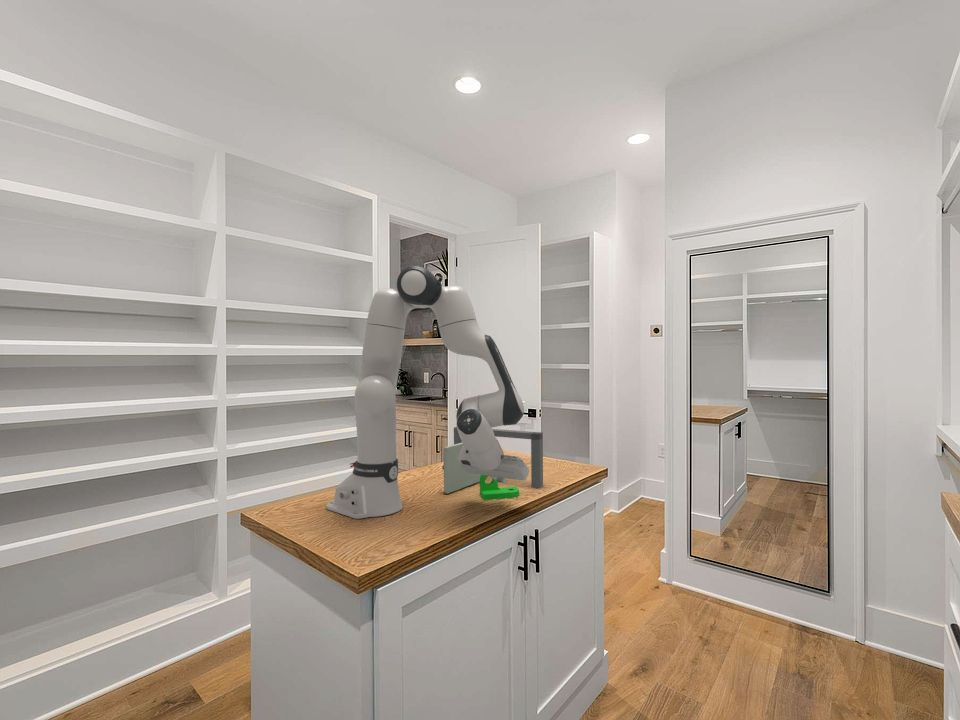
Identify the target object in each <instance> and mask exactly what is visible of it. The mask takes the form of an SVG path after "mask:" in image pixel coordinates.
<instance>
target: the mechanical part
mask: <svg viewBox="0 0 960 720" xmlns="http://www.w3.org/2000/svg"><path fill="white" fill-rule="evenodd" d="M488 477H489V476H486V475H480V482H479V496H480V495H481V496H480V497H481V498H482V499H483V501H494V500H493V499H496V500H506V499H505V498H508V499H515V498H514V497H516V498H519V497H520V489H519V487H517V486H507V487H506V486H505V487H499V482H496V481H495V479H493V478H491V481H490V482H488V483H487V482H486V479H487V478H488ZM518 496H519V497H518Z"/></svg>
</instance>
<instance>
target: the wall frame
mask: <svg viewBox="0 0 960 720" xmlns="http://www.w3.org/2000/svg"><path fill="white" fill-rule="evenodd" d="M492 430H493V432H494V435H495V438H497V437H498V438H507V439H509V438H510V439H521V440H522V439H523V440H530V449H531V450H530V457H531V458H530V463H531V465H530V466H531V467H530V469H531V471H530V473H531V474H530V475H531V476H530V477H531V478H530V481H531V482H530V483H531V488H532V487H533V489H539V488H540V489H542V488H543V487H544V446H543V445H544V439H543V438H544V436H543V432H541V431H529V430H527V431H526V430H513V429H512V430H509V429H500V428H499V429H498V428H492ZM458 443H462V441H461V438H460V436H459V433H458V430H457V426H454V427H453V445H454V444H458ZM542 486H543V487H542Z"/></svg>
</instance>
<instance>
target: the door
mask: <svg viewBox="0 0 960 720" xmlns="http://www.w3.org/2000/svg"><path fill="white" fill-rule="evenodd" d="M462 447H463V443H458V444H454V443H453V444H451V445H448V446H447V445H446V446H443V448H442V449H443V452H442V454H443V460H442V461H443V465H442V470H443V494H447V495H448V494H450V493H452V492H453V493H454V492H456V491H458V490H461V489H463V488H466V487H469V486H471V485H473V484H477V483H480V475H479V474H472V473H467V472H465V471H464V470H463V469H462V467H461V465H460V463H459V462H458V457H459V454H460V451H461V449H462Z"/></svg>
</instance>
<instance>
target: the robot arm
mask: <svg viewBox="0 0 960 720" xmlns="http://www.w3.org/2000/svg"><path fill="white" fill-rule="evenodd" d="M429 309H431V310H432V311H433V312H434V315H435V318H436V320H437V321H436V322H437V326H438V331H439V335H440V337H441V338H440V339H441V341H442V343H443V345H444V346H445V348H446V349H447V350H449V351H450V352H452V353H453V354H457V355H459V356H460V355H461V356H468V357H474V358H478V359H481V360H483V361H484V362H486V363H487V365H488V366H489V368H490V371H491V374H492V376H493V379H494V380H495V383H496V385H497V387H498V390H497V391H494V392H489V393H485V394H481V395H480V394H479V395H476V396H475V395H474V396H471V397H467V398H464V399H463V400H462V401H461V402H460V404H459V405H458V408H457V410H456V417H455V418H456V427H457V430H458V433H459V436H460V438H461V441H462V443H463V447H462V449H461V451H460V454H459V457H458V462H459V463H460V465H461V467H462V469H463V470H464V471H465V472H467V473H472V474H479V475H486V476H488V477H489V478H491V479H492V478H493V479H495V481H496V482H498V483H502V484H506V482H507V479H509V480H515V481H516V480H517V481H523V482H525V481H526V480H527V479H528V476H529V472H530V469H529V467H528V465H527V464H526V462H525V461H524V460H523V459H522V457H519V456H517V455H516V456H515V455H507V454H504V450H503V448H502V446H501V444H500V441H499V440H498V439H497V437H495V435H494V432H493V430H492V429H494V428H496V427H501V426H513V425H514V426H515V425H517V424H518V423H519V422H520V421H521V419H522V418H523V416H524V414H525V406H524V402H523V399H522V398H521V395H520V394H519V393H518V391H517V388H516V386H515V384H514V382H513V380H512V378H511V376H510V373H509V371H508V369H507V366H506V364H505V361H504V358H503V357H502V354H501V352H500V350H499V347H498V346H497V343H496V342H495V340H494V339H493V338H492V336H491V335H488V334H485V333H484V332H483V331H482V330H481V328H480V326H479V324H478V321H477V316H476V312H475V311H474V306H473V304H472V302H471V299H470V297H469V295H468V292H467V290H466V289H465V288H463V287H462V286H459V285H448V286H443V285H442V283H441V281H440V280H439V279H438V278H437V277H436V276H435V274H433V273H432V272H431V271H430V270H429V269H427V268H426V267H423V266H421V265H411V266H407V267H406V268H404V269H403V270H402V271H401V272H400V273H399V275H398V276H397V279H396V287H395V288H389V287H386V288H381V289H379V290H377V291H376V292H375V293H374V295H373V297H372V300H371V303H370V306H369V309H368V315H367V318H366V319H367V320H366V325H365V331H364V332H365V333H364V337H363V345H362V351H361V352H362V353H361V365H360V373H359V382H358V384H357V386H356V387H355V390H354V391H355V392H354V408H355V409H354V410H355V411H354V412H355V424H356V425H355V427H356V447H357V448H356V450H357V453H356V454H357V455H356V456H357V460H356V461H354V462H351V463H349V465H350V466H349V468H353V470H352V473H351V474H350V475H348V477H346V478H345V479H344V480H342V482H340V483H338V485H337V486H336V488H335V491H334V499H332V500H330V501H329V502H328V503H327V504H326V506H325V509H326V510H329V511H331V512H334V513H337V514H340V515H343V516H347V517H349V518H352V519H355V520H358V519H365V518H375V517H383V516H387V515H388V516H389V515H392V514H396V513H398V512H400V511H401V510H402V509H403V507H404V506H403V502H402V499H401V495H400V489H399V482H398V476H399V475H398V474H399V460H398V458H397V418H396V417H397V415H396V414H397V413H396V412H397V411H396V410H397V409H396V407H397V406H396V405H397V404H396V403H397V402H396V396H397V395H396V394H397V393H396V391H397V385H398V379H399V373H400V372H399V371H400V366H401V359H402V354H403V353H402V351H403V345H404V341H405V340H404V339H405V338H404V337H405V333H406V332H405V331H406V327H407V326H406V324H407V318H408V315H409V313H410V312H411V313H412V312H418V311H424V310H425V311H426V310H429Z"/></svg>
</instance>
